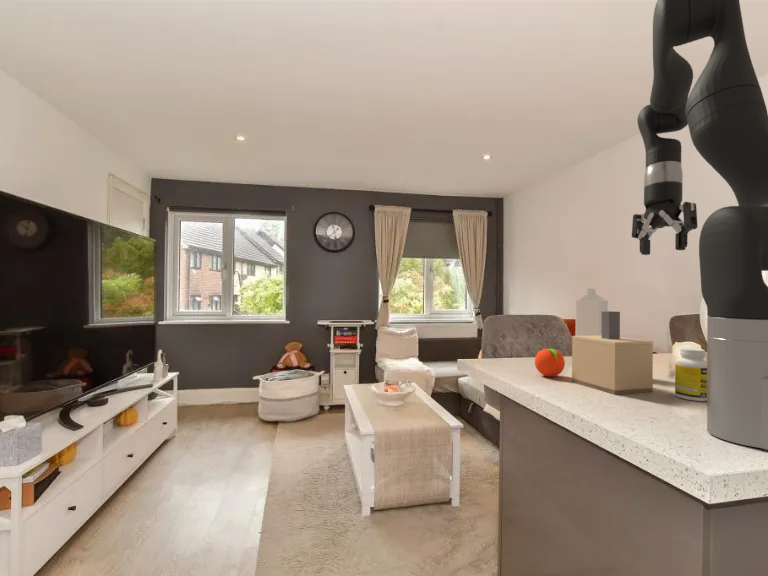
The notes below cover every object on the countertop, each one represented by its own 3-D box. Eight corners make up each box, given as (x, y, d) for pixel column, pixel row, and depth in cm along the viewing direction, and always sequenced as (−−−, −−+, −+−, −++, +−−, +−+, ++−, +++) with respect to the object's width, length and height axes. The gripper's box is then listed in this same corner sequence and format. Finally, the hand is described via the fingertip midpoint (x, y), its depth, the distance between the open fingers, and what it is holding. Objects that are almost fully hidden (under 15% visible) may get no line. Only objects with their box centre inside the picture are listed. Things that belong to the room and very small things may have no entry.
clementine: (571, 380, 95) (572, 350, 95) (542, 380, 95) (542, 350, 95) (557, 373, 103) (557, 346, 103) (530, 373, 103) (530, 345, 103)
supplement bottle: (705, 403, 76) (705, 351, 76) (671, 397, 80) (671, 348, 80) (712, 398, 80) (712, 349, 80) (679, 393, 84) (679, 346, 84)
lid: (652, 344, 85) (652, 312, 85) (614, 345, 82) (615, 313, 82) (606, 337, 97) (607, 310, 97) (572, 338, 94) (572, 310, 94)
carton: (652, 391, 85) (652, 344, 85) (614, 394, 82) (614, 345, 82) (606, 379, 96) (606, 338, 97) (572, 381, 94) (572, 338, 94)
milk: (607, 372, 106) (608, 288, 106) (599, 375, 102) (600, 288, 102) (583, 368, 111) (584, 288, 111) (574, 371, 106) (575, 288, 107)
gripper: (705, 178, 90) (705, 250, 89) (647, 194, 104) (646, 257, 103) (681, 173, 88) (680, 246, 87) (624, 190, 101) (623, 254, 100)
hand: (662, 252), depth 95 cm, fingers open, 8 cm apart
